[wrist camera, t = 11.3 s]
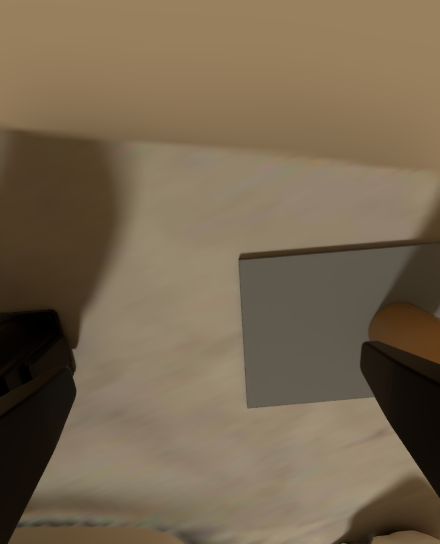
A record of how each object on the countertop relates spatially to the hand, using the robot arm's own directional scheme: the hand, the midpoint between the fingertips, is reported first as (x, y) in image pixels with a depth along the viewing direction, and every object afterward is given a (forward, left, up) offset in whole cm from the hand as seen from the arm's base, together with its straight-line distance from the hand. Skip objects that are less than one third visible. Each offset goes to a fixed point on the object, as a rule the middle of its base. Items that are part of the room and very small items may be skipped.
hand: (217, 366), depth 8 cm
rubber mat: (+11, -7, -13) cm, 18 cm away
